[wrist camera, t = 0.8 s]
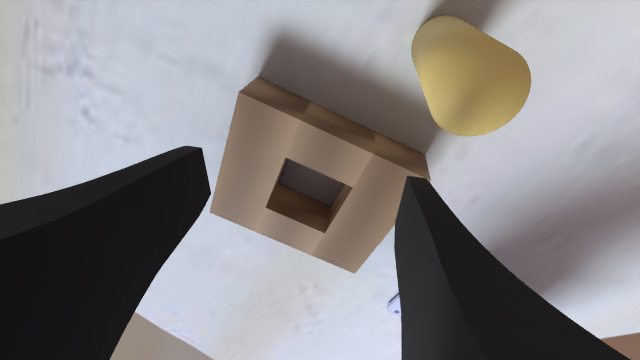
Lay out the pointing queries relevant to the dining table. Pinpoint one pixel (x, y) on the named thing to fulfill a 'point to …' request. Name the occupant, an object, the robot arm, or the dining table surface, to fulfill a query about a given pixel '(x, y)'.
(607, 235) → the dining table surface
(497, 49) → the dowel
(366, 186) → the socket
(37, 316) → the robot arm
